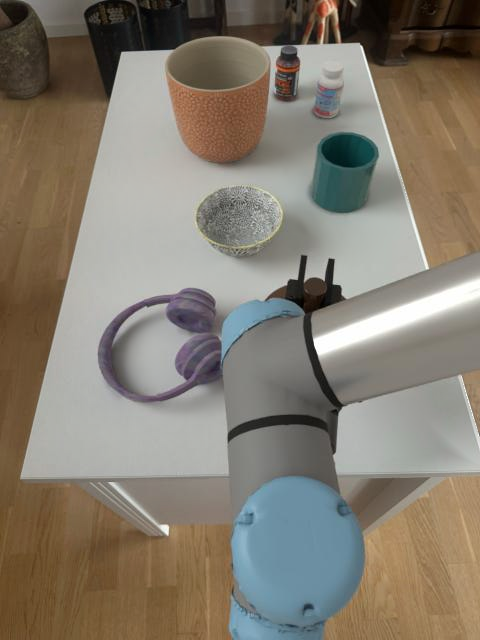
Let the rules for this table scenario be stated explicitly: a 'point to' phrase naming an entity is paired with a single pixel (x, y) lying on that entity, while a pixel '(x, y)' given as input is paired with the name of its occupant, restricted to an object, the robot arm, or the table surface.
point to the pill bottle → (329, 90)
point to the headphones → (194, 356)
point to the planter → (219, 95)
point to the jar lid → (307, 294)
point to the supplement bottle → (287, 74)
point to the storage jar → (343, 171)
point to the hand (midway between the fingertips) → (316, 264)
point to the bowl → (239, 219)
